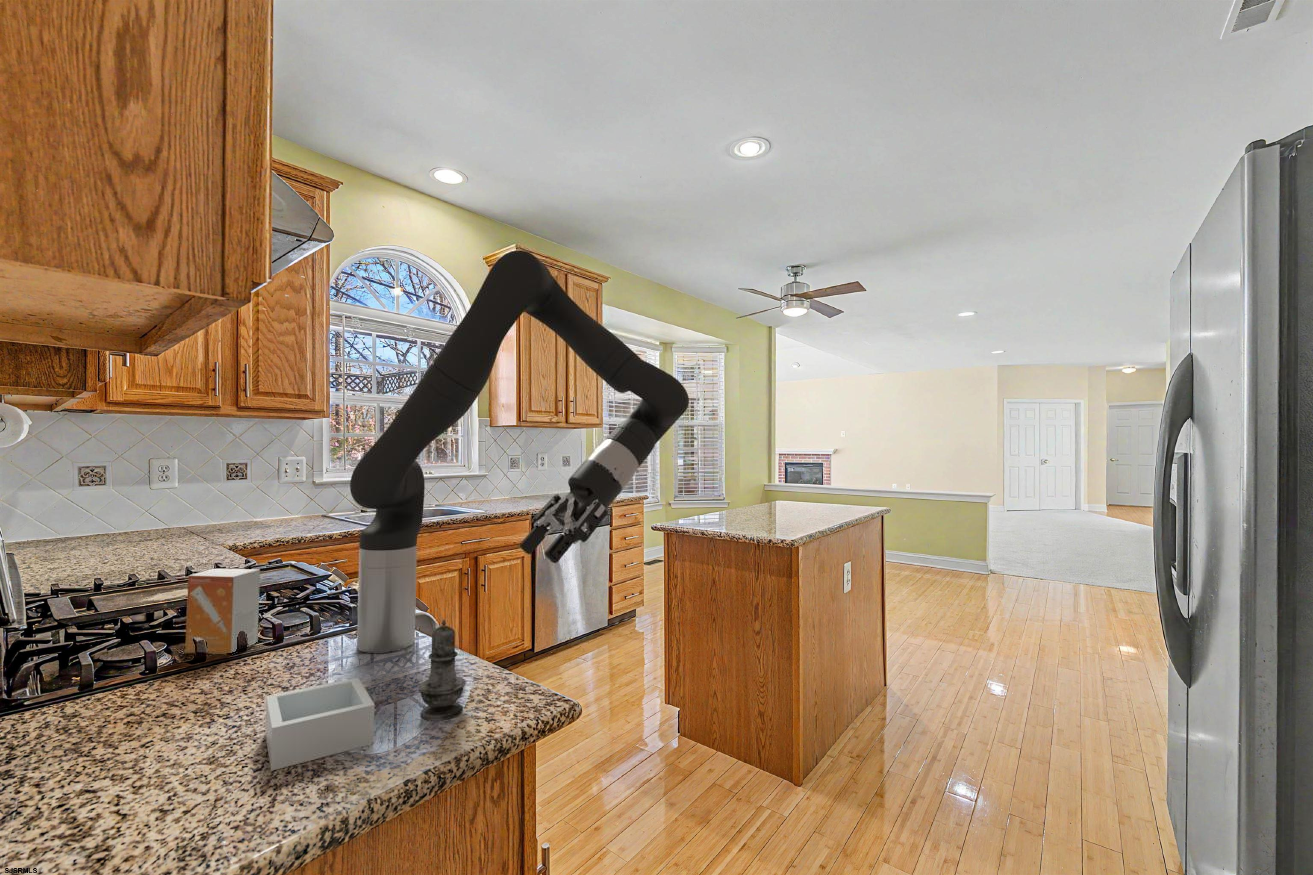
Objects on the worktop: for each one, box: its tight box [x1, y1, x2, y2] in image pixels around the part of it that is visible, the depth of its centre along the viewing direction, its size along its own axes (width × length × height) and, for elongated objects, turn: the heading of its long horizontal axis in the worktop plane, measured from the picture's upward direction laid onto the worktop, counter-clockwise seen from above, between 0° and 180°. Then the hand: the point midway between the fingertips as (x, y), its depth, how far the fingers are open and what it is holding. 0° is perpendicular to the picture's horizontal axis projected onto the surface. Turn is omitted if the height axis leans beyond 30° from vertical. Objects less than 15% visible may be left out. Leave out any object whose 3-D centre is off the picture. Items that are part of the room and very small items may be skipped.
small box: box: [184, 568, 261, 655], centre depth 100 cm, size 8×6×13 cm
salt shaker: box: [418, 619, 467, 722], centre depth 77 cm, size 6×6×12 cm
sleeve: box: [264, 677, 375, 772], centre depth 69 cm, size 10×10×4 cm
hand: (536, 554), depth 85 cm, fingers open, 8 cm apart
